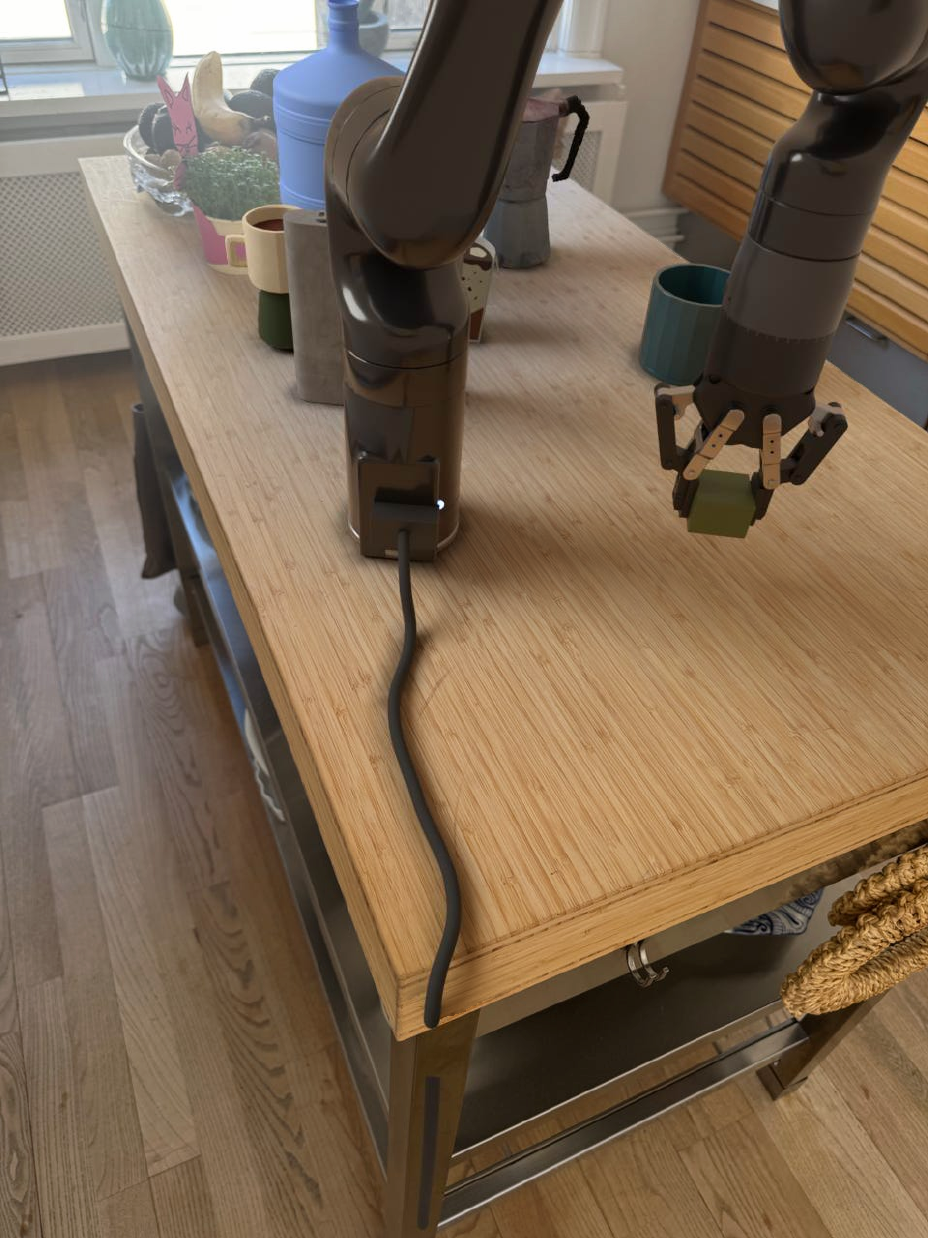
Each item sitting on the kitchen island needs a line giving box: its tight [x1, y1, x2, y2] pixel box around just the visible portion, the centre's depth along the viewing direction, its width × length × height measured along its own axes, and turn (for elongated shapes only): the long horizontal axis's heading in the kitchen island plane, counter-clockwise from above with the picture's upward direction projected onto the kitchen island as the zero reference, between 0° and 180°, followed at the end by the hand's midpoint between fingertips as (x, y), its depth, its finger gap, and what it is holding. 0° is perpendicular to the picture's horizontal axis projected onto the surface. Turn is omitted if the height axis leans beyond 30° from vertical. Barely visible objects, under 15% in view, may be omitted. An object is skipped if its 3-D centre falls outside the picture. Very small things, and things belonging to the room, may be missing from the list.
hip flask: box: [283, 209, 464, 406], centre depth 86 cm, size 16×4×20 cm, turn 93°
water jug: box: [272, 0, 406, 211], centre depth 104 cm, size 16×16×28 cm
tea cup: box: [637, 262, 731, 387], centre depth 98 cm, size 10×10×9 cm
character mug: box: [224, 204, 302, 350], centre depth 96 cm, size 11×7×13 cm, turn 93°
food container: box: [462, 235, 500, 344], centre depth 101 cm, size 12×6×10 cm, turn 84°
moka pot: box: [482, 94, 591, 269], centre depth 113 cm, size 10×15×20 cm, turn 115°
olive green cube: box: [685, 468, 756, 540], centre depth 72 cm, size 4×4×3 cm
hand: (715, 514), depth 72 cm, fingers closed on olive green cube, 4 cm apart
